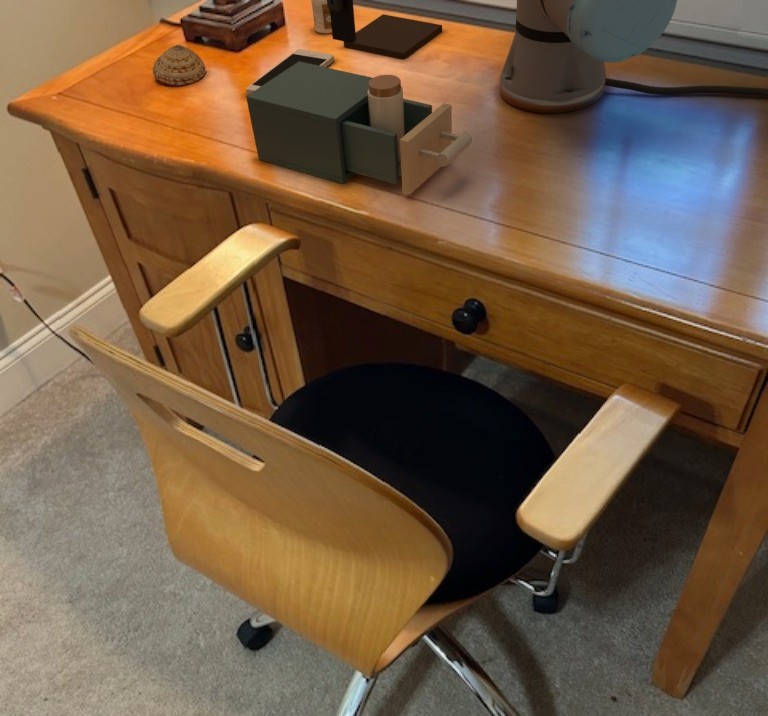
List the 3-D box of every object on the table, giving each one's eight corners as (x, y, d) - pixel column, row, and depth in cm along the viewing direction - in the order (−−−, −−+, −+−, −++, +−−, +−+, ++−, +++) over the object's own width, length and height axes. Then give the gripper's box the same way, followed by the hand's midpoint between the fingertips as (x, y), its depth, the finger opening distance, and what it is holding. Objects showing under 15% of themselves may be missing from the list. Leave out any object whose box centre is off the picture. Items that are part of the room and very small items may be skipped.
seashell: (178, 44, 132) (200, 34, 126) (194, 80, 135) (216, 72, 129) (138, 61, 128) (158, 52, 123) (155, 98, 131) (175, 90, 126)
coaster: (442, 31, 133) (442, 24, 132) (404, 59, 127) (403, 52, 126) (383, 20, 138) (383, 14, 137) (343, 47, 132) (343, 40, 131)
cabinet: (391, 145, 110) (386, 80, 104) (343, 184, 105) (335, 119, 98) (308, 123, 116) (299, 61, 109) (258, 159, 110) (245, 96, 104)
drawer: (480, 164, 104) (481, 111, 98) (439, 202, 99) (438, 149, 93) (368, 135, 111) (364, 84, 105) (325, 170, 106) (318, 118, 100)
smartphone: (335, 60, 129) (334, 53, 128) (284, 101, 121) (282, 95, 120) (298, 54, 131) (297, 48, 130) (245, 94, 123) (244, 88, 122)
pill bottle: (330, 36, 135) (324, -16, 129) (310, 31, 137) (303, -20, 131) (345, 26, 137) (340, -25, 131) (324, 22, 139) (318, -29, 133)
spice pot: (412, 152, 105) (409, 77, 97) (394, 167, 103) (389, 92, 95) (384, 144, 106) (379, 71, 99) (366, 159, 104) (359, 85, 97)
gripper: (401, -257, 83) (408, -24, 99) (249, -203, 70) (287, 53, 87) (463, -255, 80) (460, -15, 96) (316, -198, 67) (342, 66, 84)
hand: (378, 18), depth 92 cm, fingers open, 13 cm apart
